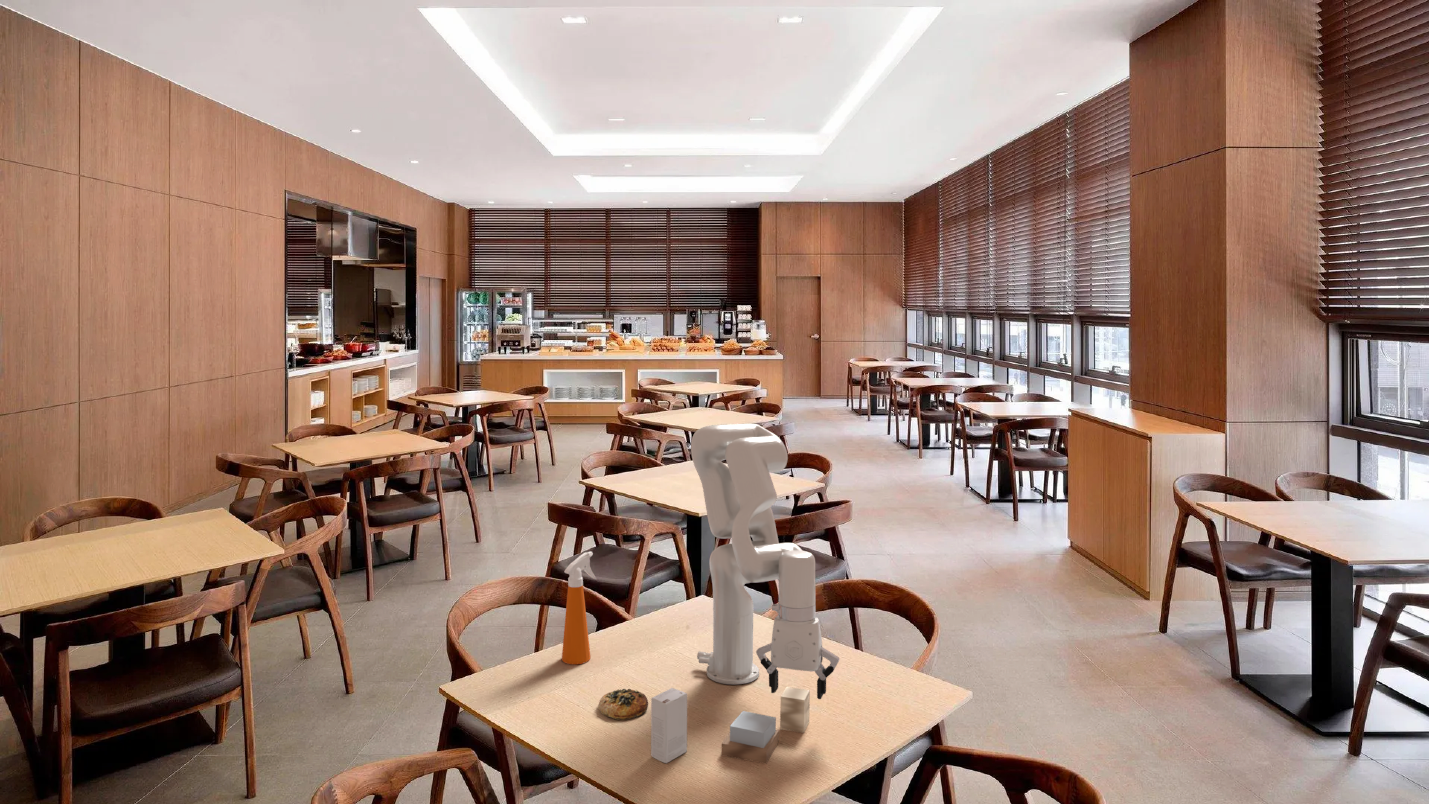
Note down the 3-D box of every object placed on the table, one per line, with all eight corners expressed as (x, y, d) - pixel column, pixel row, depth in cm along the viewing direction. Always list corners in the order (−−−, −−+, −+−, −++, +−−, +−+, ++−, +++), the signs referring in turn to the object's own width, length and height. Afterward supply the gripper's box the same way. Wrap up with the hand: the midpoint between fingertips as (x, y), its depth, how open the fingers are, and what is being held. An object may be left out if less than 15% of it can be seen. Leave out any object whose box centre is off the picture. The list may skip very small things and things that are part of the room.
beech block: (780, 729, 168) (780, 696, 168) (786, 718, 173) (786, 686, 172) (803, 733, 166) (804, 700, 166) (809, 722, 171) (809, 690, 171)
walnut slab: (721, 758, 158) (721, 743, 157) (735, 736, 166) (735, 722, 166) (766, 766, 155) (766, 751, 154) (778, 744, 163) (778, 730, 163)
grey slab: (729, 740, 158) (729, 726, 158) (742, 725, 165) (742, 710, 164) (763, 748, 156) (764, 733, 155) (775, 732, 162) (775, 717, 162)
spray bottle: (606, 653, 207) (606, 551, 205) (576, 667, 198) (575, 561, 196) (586, 647, 211) (585, 547, 209) (555, 660, 203) (554, 556, 200)
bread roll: (656, 701, 180) (654, 680, 179) (636, 730, 170) (633, 709, 169) (611, 695, 184) (609, 675, 183) (588, 724, 174) (586, 702, 173)
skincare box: (671, 745, 161) (671, 686, 160) (688, 752, 158) (688, 692, 157) (649, 757, 156) (649, 696, 155) (666, 765, 154) (666, 703, 153)
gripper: (751, 613, 167) (752, 695, 168) (835, 621, 161) (835, 706, 162) (761, 603, 174) (761, 681, 175) (842, 610, 168) (842, 691, 169)
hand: (797, 693), depth 168 cm, fingers open, 9 cm apart
